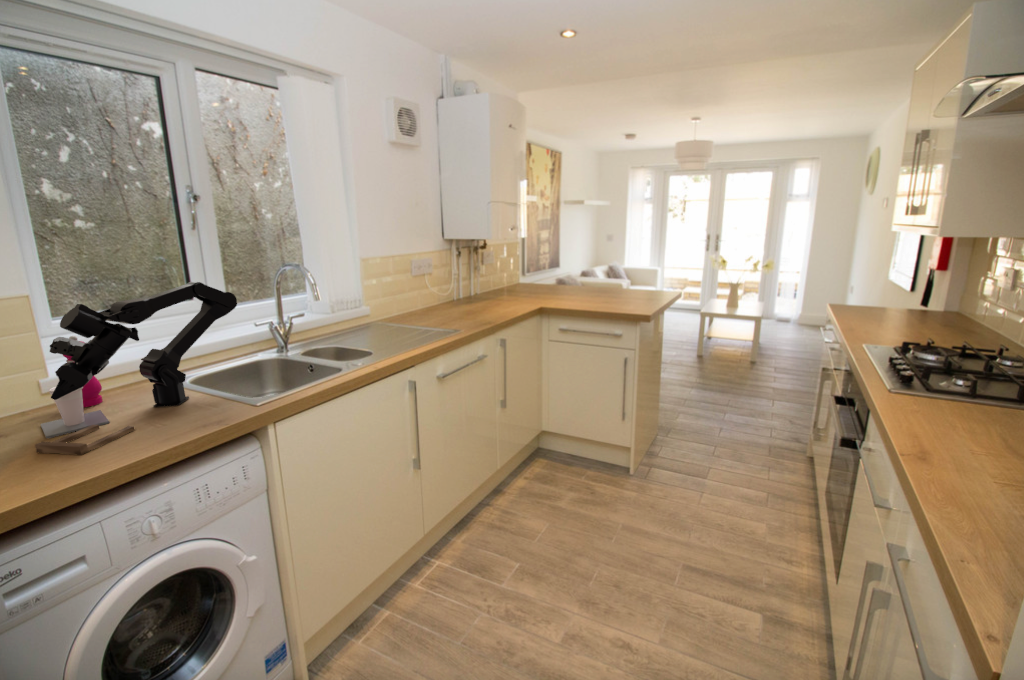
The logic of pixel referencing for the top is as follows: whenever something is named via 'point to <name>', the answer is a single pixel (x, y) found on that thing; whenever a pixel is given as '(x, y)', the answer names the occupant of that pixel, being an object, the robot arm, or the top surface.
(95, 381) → the pepper mill
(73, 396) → the smoothie
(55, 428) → the plate
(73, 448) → the lane
